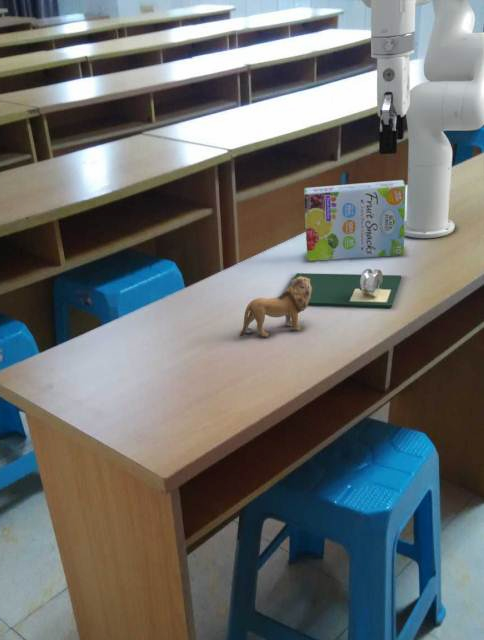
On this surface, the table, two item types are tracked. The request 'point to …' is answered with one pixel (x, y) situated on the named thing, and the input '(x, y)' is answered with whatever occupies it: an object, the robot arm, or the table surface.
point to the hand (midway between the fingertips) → (391, 146)
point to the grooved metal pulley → (371, 282)
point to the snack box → (355, 220)
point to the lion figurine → (279, 306)
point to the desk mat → (349, 290)
